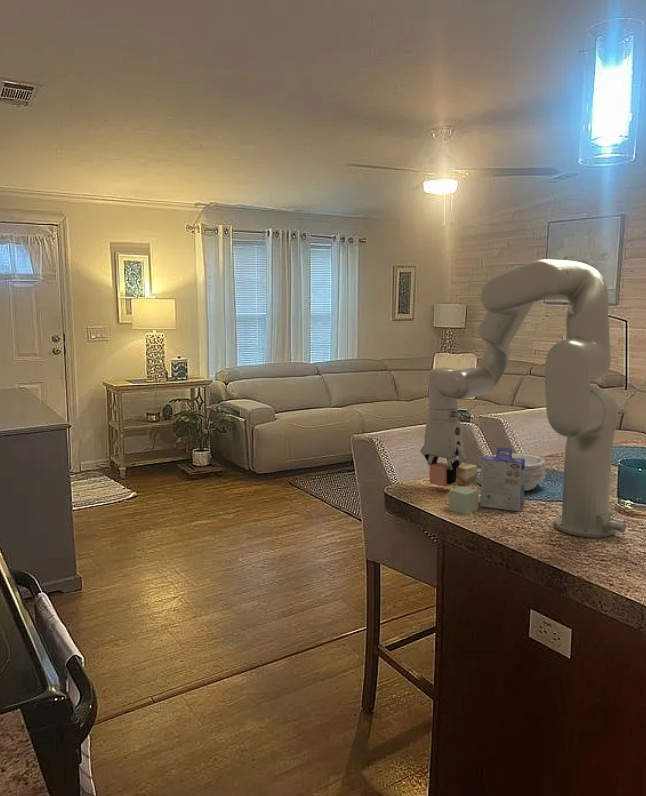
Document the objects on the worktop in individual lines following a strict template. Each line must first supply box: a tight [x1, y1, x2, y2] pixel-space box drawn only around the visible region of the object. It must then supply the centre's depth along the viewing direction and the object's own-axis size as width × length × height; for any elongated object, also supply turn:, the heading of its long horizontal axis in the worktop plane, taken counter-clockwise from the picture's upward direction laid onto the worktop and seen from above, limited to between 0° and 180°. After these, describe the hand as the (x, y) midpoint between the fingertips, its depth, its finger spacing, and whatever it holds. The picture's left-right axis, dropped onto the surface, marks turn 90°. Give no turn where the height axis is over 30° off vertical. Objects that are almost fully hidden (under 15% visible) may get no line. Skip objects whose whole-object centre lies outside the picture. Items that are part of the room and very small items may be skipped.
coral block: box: [429, 461, 456, 488], centre depth 170 cm, size 5×5×5 cm
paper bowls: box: [492, 453, 547, 492], centre depth 172 cm, size 15×15×8 cm
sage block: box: [448, 485, 480, 515], centre depth 154 cm, size 5×5×5 cm
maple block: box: [454, 462, 478, 487], centre depth 177 cm, size 5×5×5 cm
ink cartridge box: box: [479, 447, 525, 512], centre depth 156 cm, size 10×6×14 cm, turn 65°
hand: (442, 480), depth 170 cm, fingers closed on coral block, 4 cm apart
